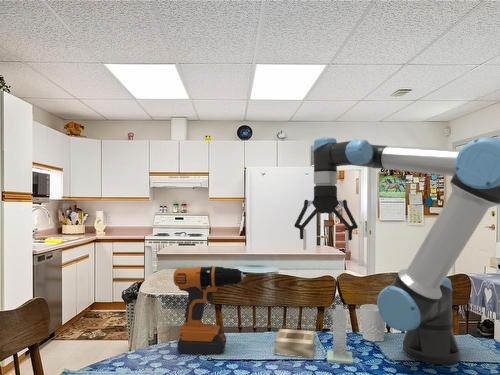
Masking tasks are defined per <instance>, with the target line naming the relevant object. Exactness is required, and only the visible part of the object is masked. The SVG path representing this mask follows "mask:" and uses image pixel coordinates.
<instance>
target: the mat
mask: <svg viewBox="0 0 500 375" xmlns="http://www.w3.org/2000/svg"><path fill="white" fill-rule="evenodd" d="M346 354H347V359H344V358H333V350H332V349H327V352H326V362H327V363H336V364H348V365H354V359H353V352H352V351H346Z"/></svg>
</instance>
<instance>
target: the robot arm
mask: <svg viewBox="0 0 500 375" xmlns="http://www.w3.org/2000/svg"><path fill="white" fill-rule="evenodd" d="M312 153H313V185H314V186H313V199H312V200H308V199H305V200H304V202H303V207H302V209H301V211H300V213H299V215H298V217H297V219H296V221H295V223H294V225H293V226H294V228H295V229H298V230H299V238H300V239H299V240H302V241H303V243H302V244H303V245H302V246H303V247H302V249H303V251H306V250H307V229H305V227H306V226H308V224H309V223H310V222H311V220H312V219H313V218H314V217H315V216H316V215H317V214H318V213H319V214H332V213H333V214H334V215H335V216H336V217H337V218H338V219H339V220H340V222H341V223H342V224H343V225H344V226H345V227H346V230H345V251H346V252H349V241H352V240H353V230H355V229H358V223H357V222H356V220H355V218H354V217H353V214H352V213H351V210H350V209H349V206H348V201H347V200H346V199H343V200H338V187H337V184H338V167H344V166H345V167H346V166H352V167H353V166H355V167H365V168H371V169H378V170H379V169H381V170H382V169H383V170H392V171H394V170H395V171H402V172H412V173H420V174H431V175H441V176H448V177H452V178H451V179H450V182H449V183H450V186H451V188H452V189H451V191H452V192H451V193H450V194H449V196H448V197H447V200H446V201H445V204H444V205H443V206H442V208H441V211H440V212H439V213H438V216H437V217H436V219H435V220H434V223H433V224H432V226H431V227H430V229H429V231H428V233H427V234H426V236H425V238H424V239H423V241H422V243H421V245H420V247H419V248H418V250H417V252H416V253H415V255H414V257H413V259H412V261H411V262H410V264H409V266H408V267H407V268H403V269H400V270H399V271H398V272H397V274H396V276H395V278H394V280H393V281H392V283H391V284H390V285H389V286H385V288H383V289H382V290H380V292H379V294H378V295H377V299H376V303H377V304H376V305H377V307H378V309H379V313H380V315H381V317H382V319H383V320H384V321H385V324H387V326H389V327H390V328H392V329H394V330H395V331H398V332H405V334H404V337H403V340H402V352H403V351H404V352H405V353H406V354H407V355H409V356H410V357H409V356H408V357H409V358H411V357H412V358H411V359H413V358H414V360H415V361H419V362H422V363H427V364H431V365H432V364H433V365H453V364H456V363H458V362H460V360H461V351H460V348H459V345H458V341H457V339H456V337H455V334H454V331H453V288H452V281H451V279H450V278H449V277H447V275H448V274H449V272H450V271H451V269H452V268H453V266H454V265H455V263H456V262H457V260H458V258H459V257H460V255H461V254H462V252H463V250H464V248H465V247H466V245H467V243H468V242H469V241H470V239H471V237H472V236H473V235H474V233H475V231H476V230H477V228H478V226H479V225H480V223H481V222H482V220H483V218H484V217H485V215H486V214H487V212H488V210H489V209H490V208H492V207H497V206H500V137H493V136H492V137H487V136H486V137H480V138H476V139H474V140H471V141H470V142H468V143H466V144H465V145H464V146H463V147H462V148H461V149H456V148H455V149H453V148H438V147H437V148H436V147H434V148H433V147H432V148H431V147H419V146H418V147H417V146H416V147H415V146H397V145H383V144H382V145H379V144H371V143H370V142H369V141H368V140H367V139H354V140H348V141H347V140H346V141H341V142H337V139H336V138H334V137H326V136H325V137H318V138H316V139H315V140H314V142H313V151H312ZM339 205H340V207H342V208H343V209H344V211H345V213H346V215H347V216H348V219H349V221H350V223H351V225H350V224H349V223H348V222H347V220H346V219H345V218H344V217H343V216H342V214H341V213H340V212H339V211H338V210H337V209H336V208H337V207H338V206H339ZM311 206H313V207H314V208H315V209H314V210H313V211H312V212H311V213H310V214H309V215H308V216H307V218H306V219H305V221H303V222H302V220H303V218H304V216H305V214H306V212H307V210H308V208H309V207H311ZM301 222H302V224H300V223H301ZM404 352H403V353H404ZM405 353H404V354H405ZM406 354H405V355H406ZM407 355H406V356H407Z"/></svg>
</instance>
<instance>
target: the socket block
mask: <svg viewBox="0 0 500 375" xmlns="http://www.w3.org/2000/svg"><path fill="white" fill-rule="evenodd" d="M315 336H316V335H315V331H314V330H303V329H288V328H279V329H278V332H277V333H276V336H275V338H274V341H273V342H274V344H273V345H274V346H273V347H274V348H273V350H274V352H273V353H280V354H287V355H295V356H302V357H301V358H303V357H309V358H308V359H313V358H314V352H313V351H315V345H314V343H315V340H316V339H315ZM315 344H316V343H315Z"/></svg>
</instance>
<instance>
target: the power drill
mask: <svg viewBox="0 0 500 375" xmlns="http://www.w3.org/2000/svg"><path fill="white" fill-rule="evenodd" d="M246 277H247V276H246V275H245V274H243V271H241V270H240V269H239V268H230V267H225V268H224V266H214V265H213V266H211V265H210V266H197V267H180V268H176V269H175V271H174V273H173V284H174V286H176V287H178V290H179V291H183V292H186V293H187V294H188V299H187V301H186V305H185V306H186V307H185V312H184V316H185V317H184V318H185V320H184V321H185V322H184V323H183V324H182V325H181V327H180V329H179V333H180V334H179V340H178V341H177V351H178V352H179V353H180V354H186V355H187V354H190V355H211V354H218V355H219V354H222V353H223V352H224V351H225V347H226V344H227V336H226V334H225V332H224V331H223V329H222V328H221V326H220V325H219V324H218V325H217V324H213V323H203V322H202V319H203V316H204V312H205V303H209V302H210V301H212V302H213V301H214V297H213V294H215V293H216V292H217V291H218V287H224V286H230V285H238V284H240V283H242V281H243V280H244V278H246Z"/></svg>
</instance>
